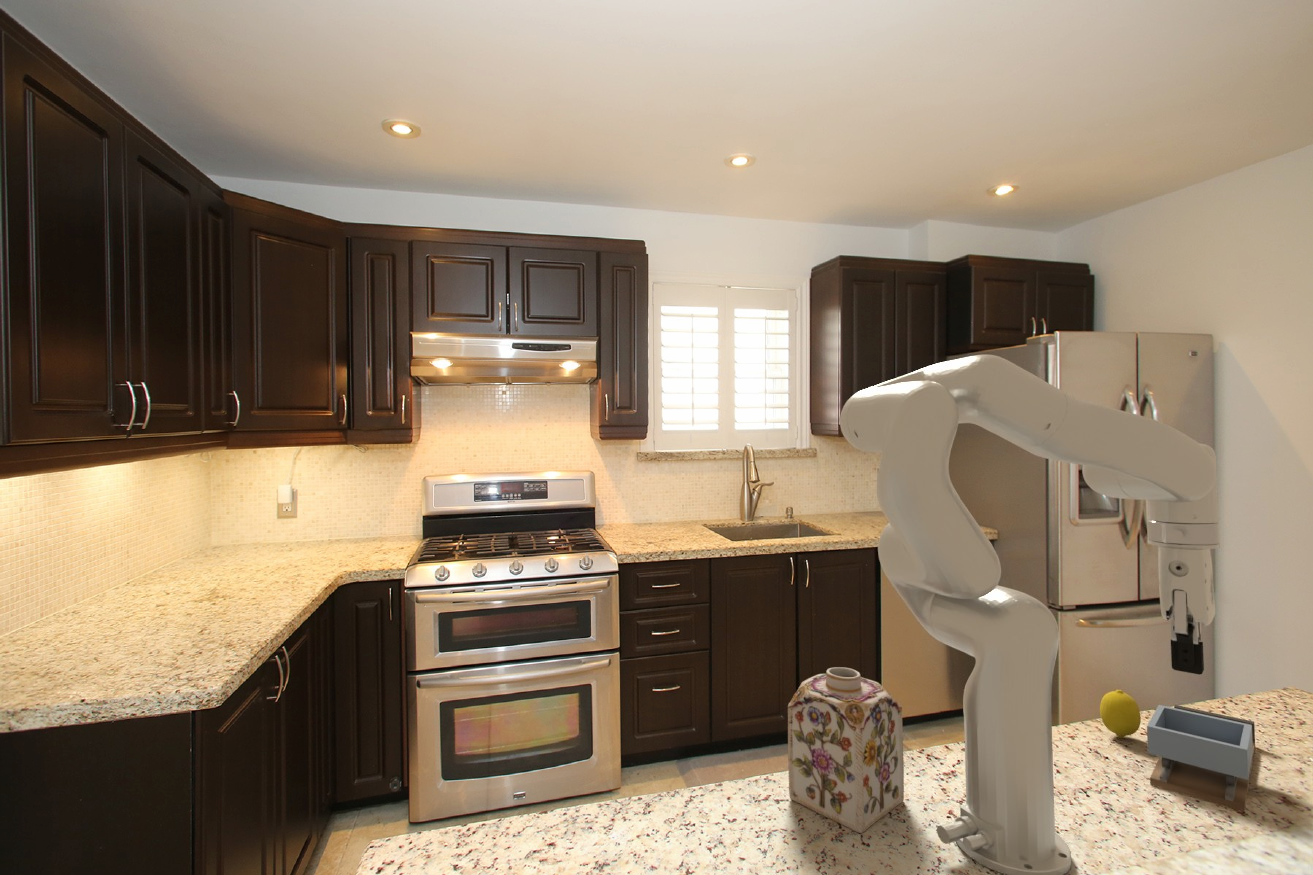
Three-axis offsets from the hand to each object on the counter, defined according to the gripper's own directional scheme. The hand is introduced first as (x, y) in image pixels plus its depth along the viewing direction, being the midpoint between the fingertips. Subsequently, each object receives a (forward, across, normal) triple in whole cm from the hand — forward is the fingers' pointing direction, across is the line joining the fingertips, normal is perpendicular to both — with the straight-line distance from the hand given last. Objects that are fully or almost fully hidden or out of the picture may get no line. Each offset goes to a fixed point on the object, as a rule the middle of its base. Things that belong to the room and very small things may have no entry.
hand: (1187, 670), depth 85 cm
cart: (+17, +11, 0) cm, 20 cm away
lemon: (+19, +19, +11) cm, 29 cm away
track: (+19, +17, 0) cm, 25 cm away
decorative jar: (+19, -30, +34) cm, 49 cm away
